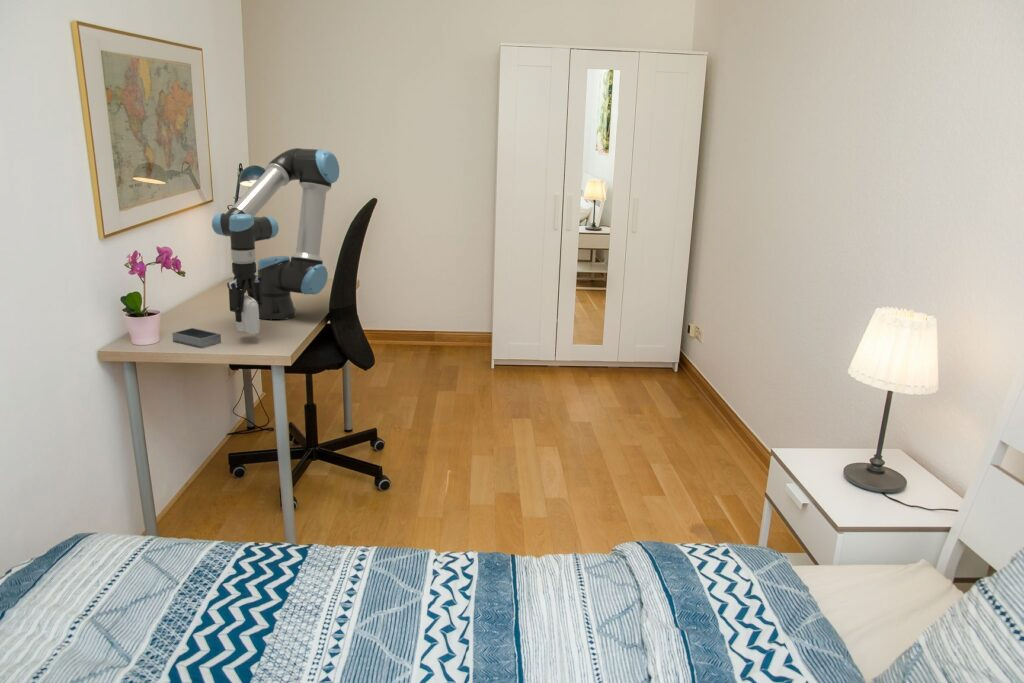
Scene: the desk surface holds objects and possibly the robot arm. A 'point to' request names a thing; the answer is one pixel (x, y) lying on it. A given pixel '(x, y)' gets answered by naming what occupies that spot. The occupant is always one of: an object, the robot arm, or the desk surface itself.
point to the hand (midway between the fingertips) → (247, 328)
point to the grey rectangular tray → (196, 337)
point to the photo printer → (250, 315)
